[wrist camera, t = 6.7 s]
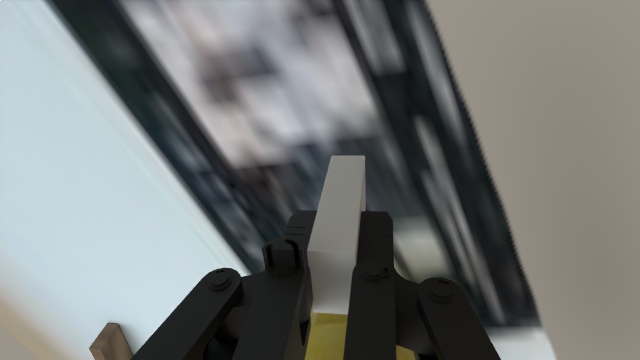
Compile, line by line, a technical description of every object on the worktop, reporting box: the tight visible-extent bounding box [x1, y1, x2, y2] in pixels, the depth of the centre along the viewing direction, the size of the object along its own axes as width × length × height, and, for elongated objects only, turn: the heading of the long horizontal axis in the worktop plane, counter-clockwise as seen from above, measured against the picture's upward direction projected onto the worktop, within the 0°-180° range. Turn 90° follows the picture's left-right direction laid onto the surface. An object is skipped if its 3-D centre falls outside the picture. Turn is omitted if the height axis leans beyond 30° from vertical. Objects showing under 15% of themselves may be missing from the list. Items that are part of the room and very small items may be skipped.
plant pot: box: [305, 303, 416, 360], centre depth 24 cm, size 10×10×10 cm
